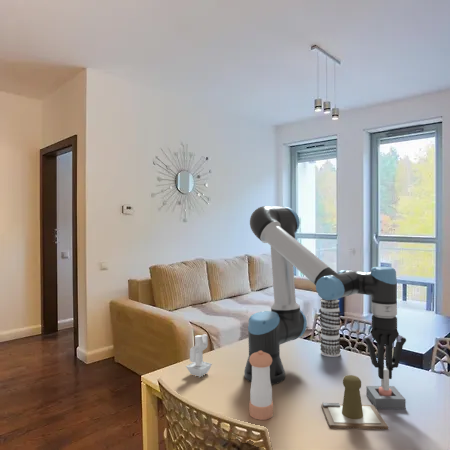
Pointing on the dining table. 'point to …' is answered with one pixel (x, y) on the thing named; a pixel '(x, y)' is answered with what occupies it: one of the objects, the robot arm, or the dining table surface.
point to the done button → (385, 392)
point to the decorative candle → (330, 328)
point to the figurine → (198, 357)
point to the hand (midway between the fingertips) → (385, 388)
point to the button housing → (386, 398)
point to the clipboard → (338, 420)
